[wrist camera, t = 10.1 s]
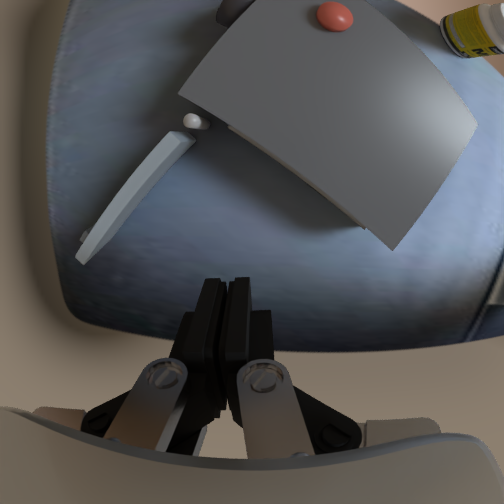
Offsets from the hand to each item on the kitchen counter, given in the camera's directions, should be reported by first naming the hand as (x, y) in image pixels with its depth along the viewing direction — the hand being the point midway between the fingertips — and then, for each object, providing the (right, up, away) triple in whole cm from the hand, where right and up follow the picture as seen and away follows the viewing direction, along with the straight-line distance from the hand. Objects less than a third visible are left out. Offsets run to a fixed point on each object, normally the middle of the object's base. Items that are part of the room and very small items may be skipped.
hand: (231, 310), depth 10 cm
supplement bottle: (+20, +23, +3) cm, 30 cm away
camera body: (+6, +13, +6) cm, 15 cm away
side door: (-8, +7, +8) cm, 13 cm away
